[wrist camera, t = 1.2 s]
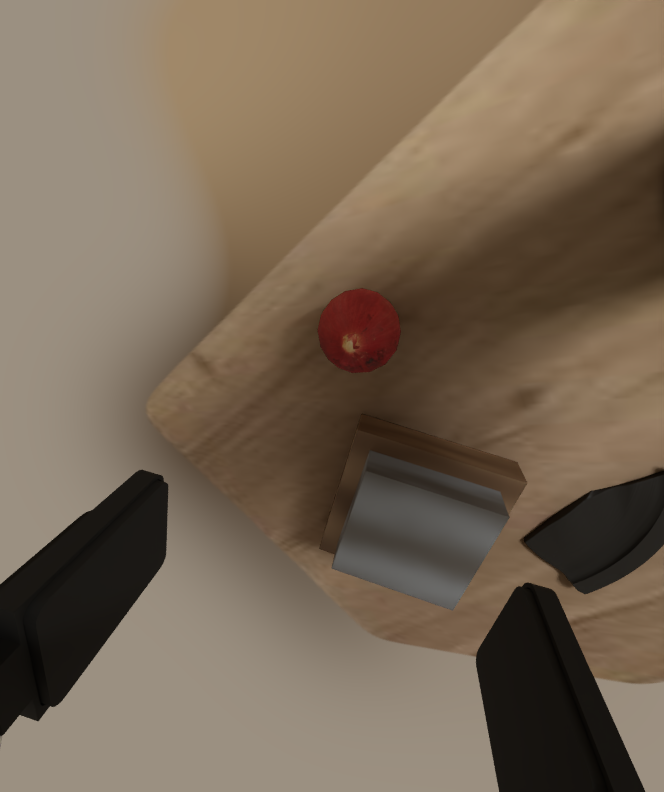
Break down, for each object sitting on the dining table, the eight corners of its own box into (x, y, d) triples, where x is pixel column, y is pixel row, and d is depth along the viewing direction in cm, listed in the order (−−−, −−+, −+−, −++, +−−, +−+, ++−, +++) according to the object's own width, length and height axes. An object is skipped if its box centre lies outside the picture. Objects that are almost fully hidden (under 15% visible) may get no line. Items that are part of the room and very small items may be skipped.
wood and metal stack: (361, 413, 33) (352, 448, 27) (517, 462, 32) (539, 508, 26) (325, 527, 39) (311, 574, 33) (455, 571, 38) (463, 626, 32)
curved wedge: (723, 504, 30) (739, 518, 29) (579, 582, 36) (586, 597, 34) (652, 444, 29) (665, 454, 28) (516, 533, 35) (521, 546, 34)
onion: (414, 334, 29) (416, 366, 22) (352, 367, 31) (335, 406, 24) (378, 268, 28) (367, 279, 20) (316, 307, 30) (286, 330, 22)
